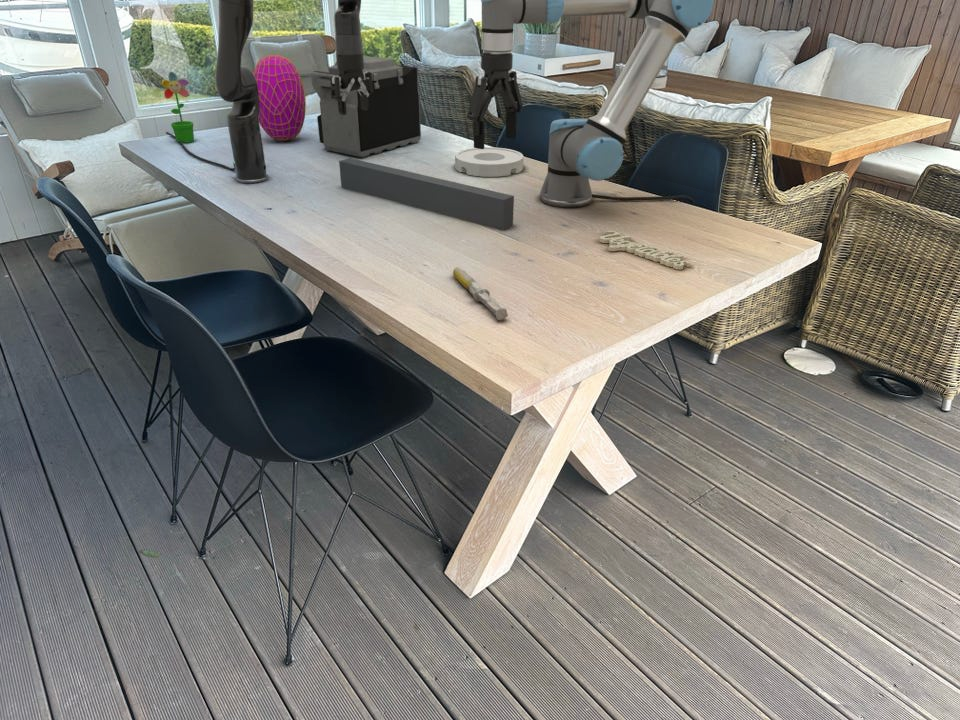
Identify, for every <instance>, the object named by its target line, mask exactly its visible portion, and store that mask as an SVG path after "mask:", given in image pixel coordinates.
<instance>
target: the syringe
mask: <svg viewBox="0 0 960 720" xmlns="http://www.w3.org/2000/svg"><path fill="white" fill-rule="evenodd" d="M452 274H453V277H454V279H455V280H457V281H458V282H459V283H460V285H462V287H464V289H466V290H467V291H468V293H470V295H471V296H472V298H473V300H474V302H477V303H478V302H480V303H482V304H483V305H484V306H485V307H486V308H487V309H488V310H489V311H490V312H491V313H492V314H493V315H494V316H495V317H496V320H497V321H503V320H504V319H506V318H507V317H509V314H508V310H507V308H506V307H502V306H501V305H500V303H498V302H497V301H496V300H494V299H493V298H492V297H491V296H490V295H491V293H490V290H488V289H486V288H483V287H482V286H481V285H480V284H479V283H478V282H477V281H476V280H474V278H473V277H471V275H469V274H468V273H467V272H466V270H465V269H464V268H463V267H462V266H456V267H454V268H453V271H452Z"/></svg>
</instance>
